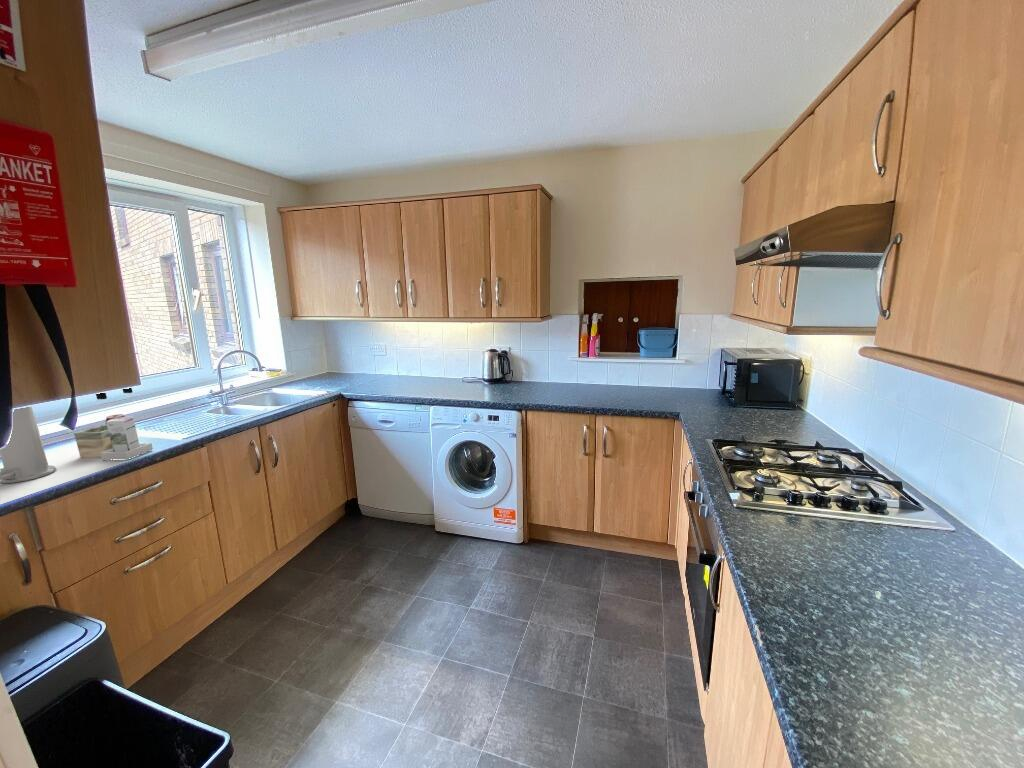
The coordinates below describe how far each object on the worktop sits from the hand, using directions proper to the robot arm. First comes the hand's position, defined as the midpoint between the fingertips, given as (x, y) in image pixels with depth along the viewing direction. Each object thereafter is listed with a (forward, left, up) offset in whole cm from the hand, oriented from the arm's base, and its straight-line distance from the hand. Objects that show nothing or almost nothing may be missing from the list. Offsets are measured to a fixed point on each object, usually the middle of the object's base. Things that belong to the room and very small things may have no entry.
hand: (115, 395), depth 155 cm
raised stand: (+3, +13, -23) cm, 27 cm away
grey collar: (0, 0, -23) cm, 23 cm away
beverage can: (+13, +17, -23) cm, 32 cm away
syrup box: (0, 0, -23) cm, 23 cm away
